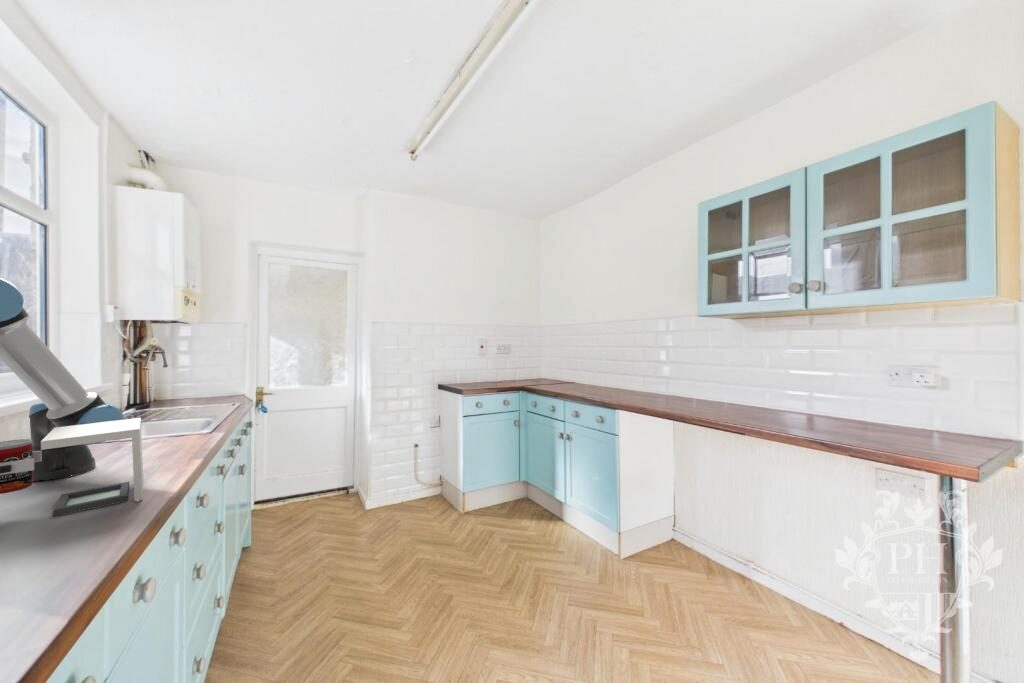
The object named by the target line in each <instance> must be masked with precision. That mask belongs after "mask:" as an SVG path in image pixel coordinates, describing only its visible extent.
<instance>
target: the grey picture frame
mask: <svg viewBox="0 0 1024 683" xmlns="http://www.w3.org/2000/svg"><path fill="white" fill-rule="evenodd" d="M128 491H130V481H125V482H119V483H115V484H108V485H103V486H99V487H98V486H97V487H92V488H87V489H82V490H76V491H71V492H64V493H62V494H60V496H59V498H58V501H56V504H55V506H54V507H53V509H52V516H53V517H57V516H63V515H67V514H72V513H76V512H75V511H77V512H80V511H79V510H82V511H84V510H83V509H86V510H89V509H88V508H91V509H94V508H93V507H96V508H99V507H98V506H101V507H103V505H105V506H108V505H107V504H110V505H113V504H112V503H115V504H118V503H117V502H120V503H123V502H122V501H124V502H127V501H128V499H129V492H128ZM127 498H128V499H127ZM126 500H127V501H126Z"/></svg>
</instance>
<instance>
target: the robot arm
mask: <svg viewBox="0 0 1024 683" xmlns="http://www.w3.org/2000/svg"><path fill="white" fill-rule="evenodd" d="M24 303H25V300H24V296H23V294H22V292H21V291H20V290H19V289H18V288H17V286H16V285H15V284H13V283H11V282H10V281H8V280H6V279H3V278H0V360H1V361H2V362H3V363H5V365H6V366H7V367H8V368H9V369H10V370H11V371H12V372H13V373H14V374H15V375H16V377H18V378H19V380H20V381H22V383H23V384H25V386H26V387H27V388H28V389H29V390H30V391H31V392H33V394H34V395H35V396H36V397H37V398H38V399H39V400H40V401H41V402H37V403H34V404H32V405H31V406H30V407H29V414H28V418H29V426H30V428H29V429H30V431H29V432H30V440H32V446H33V458H32V459H25V460H18V461H10V462H3V463H0V475H5V474H12V473H18V472H25V471H32V470H33V482H40V481H39V480H45V481H50V480H49V479H53V480H56V479H57V478H59V479H63V478H62V477H64V478H68V477H67V476H69V477H72V476H71V475H73V476H76V474H77V475H81V474H83V473H86V472H89V471H92V470H94V469H95V468H96V467H97V464H96V459H95V457H93V453H92V452H91V450H90V448H89V446H88V445H94V444H101V443H105V442H106V441H103V442H95V443H88V444H81V445H73V446H66V447H59V448H52V449H44V450H41V441H42V440H43V439H44V438H45V437H46V436H47V435H48V434H49V433H50V432H51V431H52V430H53V429H54V428H56V427H64V426H73V425H82V424H91V423H99V422H108V421H117V420H125V419H124V418H125V416H124V414H123V411H122V410H121V409H120V408H118V407H117V406H115V405H113V404H107V403H106V402H105V401H104V400H103V399H102V398H101V396H100V395H99V394H98V393H97V392H95V391H87V390H86V389H85V388H84V387H83V386H82V385H81V384H80V383H79V381H78V380H77V379H76V378H75V377H74V376H73V375H72V373H71V372H70V371H69V370H68V369H67V368H66V367H65V366H64V365H63V363H62V362H61V361H60V360H59V359H58V357H57V356H56V355H55V354H54V353H53V352H52V350H51V349H50V348H49V347H48V346H47V345H46V344H45V343H44V341H43V340H41V337H39V336H38V335H37V334H36V333H35V331H34V330H33V329H32V328H31V327H30V325H29V324H28V320H29V317H30V314H29V313H28V311H26V309H25V308H24ZM57 480H58V479H57Z"/></svg>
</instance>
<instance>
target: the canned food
mask: <svg viewBox="0 0 1024 683" xmlns="http://www.w3.org/2000/svg"><path fill="white" fill-rule="evenodd" d="M32 458H33V446H32V440H31V439H27V438H26V439H25V438H23V439H22V438H21V439H13V440H10V439H9V440H2V441H0V463H3V462H10V461H18V460H25V459H32ZM33 482H34V481H33V470H32V471H25V472H18V473H12V474H5V475H0V495H2V494H8V493H15V492H17V491H21V490H25V489H28V488H29V487H31V486H32V485H33Z"/></svg>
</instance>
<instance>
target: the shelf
mask: <svg viewBox="0 0 1024 683" xmlns="http://www.w3.org/2000/svg"><path fill="white" fill-rule="evenodd" d="M124 439H131V445H132V446H131V447H132V450H131V451H132V471H133V472H132V473H133V493H134V494H133V496H134V502H135V501H137V500H142V499H143V497H144V496H143V495H144V467H143V466H144V465H143V464H144V461H143V438H142V418H141V417H136V418H135V417H134V418H128V419H124V420H117V421H108V422H99V423H91V424H82V425H73V426H64V427H56V428H54V429H53V430H52V431H51V432H50V433H49V434H48V435H47V436H46V437H45V438H44V439H43V440H42V441H41V450H44V449H52V448H59V447H66V446H73V445H81V444H87V445H89V444H88V443H95V442H102V443H104V442H103V441H105V442H110V441H116V440H124ZM142 501H143V500H142Z"/></svg>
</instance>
